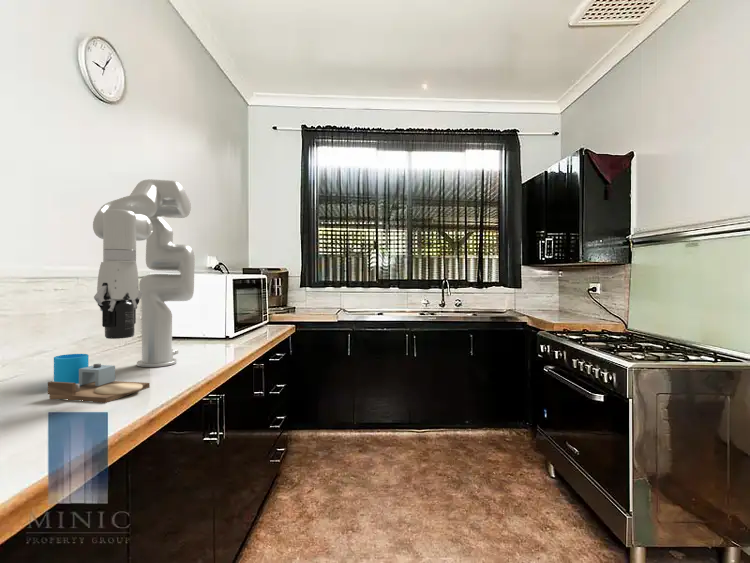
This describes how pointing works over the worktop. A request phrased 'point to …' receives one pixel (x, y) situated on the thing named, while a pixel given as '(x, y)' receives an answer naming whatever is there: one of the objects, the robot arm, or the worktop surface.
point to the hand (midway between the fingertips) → (119, 324)
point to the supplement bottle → (122, 320)
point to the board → (94, 390)
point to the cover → (97, 374)
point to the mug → (69, 367)
